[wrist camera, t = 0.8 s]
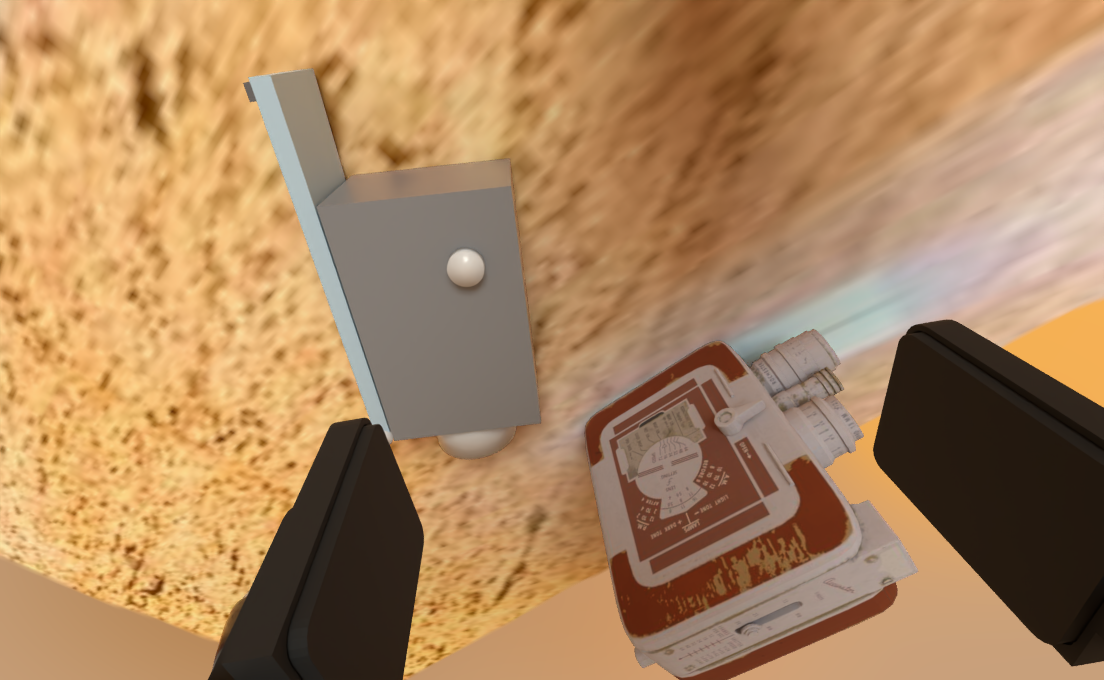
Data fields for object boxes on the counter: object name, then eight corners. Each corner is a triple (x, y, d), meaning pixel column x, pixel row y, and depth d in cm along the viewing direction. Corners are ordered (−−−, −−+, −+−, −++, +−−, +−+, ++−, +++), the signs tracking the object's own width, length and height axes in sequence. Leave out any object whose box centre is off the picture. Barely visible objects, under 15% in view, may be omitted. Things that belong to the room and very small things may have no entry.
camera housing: (351, 175, 32) (311, 211, 25) (509, 158, 32) (511, 189, 25) (420, 414, 42) (404, 486, 35) (540, 400, 42) (546, 468, 35)
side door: (289, 70, 28) (237, 78, 23) (315, 68, 28) (270, 75, 23) (390, 391, 40) (372, 447, 35) (409, 389, 40) (394, 444, 35)
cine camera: (819, 359, 42) (1033, 577, 25) (626, 471, 47) (695, 717, 30) (775, 281, 38) (995, 479, 21) (569, 413, 43) (611, 660, 26)
